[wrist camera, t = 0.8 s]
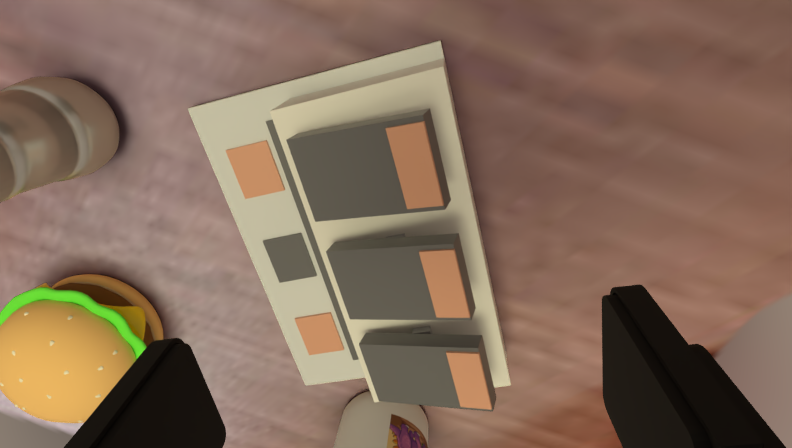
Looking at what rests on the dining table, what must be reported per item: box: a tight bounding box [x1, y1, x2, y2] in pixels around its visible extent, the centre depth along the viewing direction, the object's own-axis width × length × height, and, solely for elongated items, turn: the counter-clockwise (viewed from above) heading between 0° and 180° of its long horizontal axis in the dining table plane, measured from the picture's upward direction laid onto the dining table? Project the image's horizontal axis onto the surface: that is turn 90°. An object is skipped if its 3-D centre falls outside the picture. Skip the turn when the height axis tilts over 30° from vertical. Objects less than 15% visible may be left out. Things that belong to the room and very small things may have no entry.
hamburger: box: [0, 274, 164, 423], centre depth 37 cm, size 12×12×9 cm
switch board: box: [188, 40, 511, 402], centre depth 33 cm, size 17×24×5 cm
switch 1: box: [286, 108, 451, 222], centre depth 26 cm, size 8×5×1 cm, turn 105°
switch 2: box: [359, 333, 496, 411], centre depth 31 cm, size 8×5×1 cm, turn 104°
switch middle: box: [326, 233, 476, 320], centre depth 29 cm, size 8×5×1 cm, turn 104°
